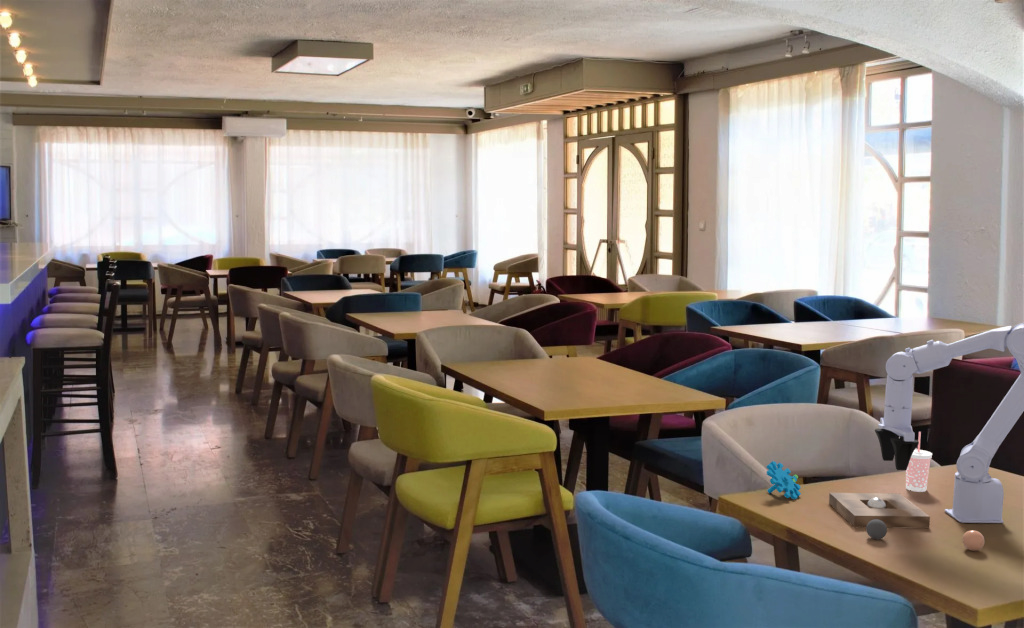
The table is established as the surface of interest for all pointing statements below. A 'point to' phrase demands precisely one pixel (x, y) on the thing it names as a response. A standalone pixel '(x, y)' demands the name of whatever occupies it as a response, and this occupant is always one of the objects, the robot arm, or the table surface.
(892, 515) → the wooden square frame
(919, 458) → the beverage cup
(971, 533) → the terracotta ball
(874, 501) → the steel ball
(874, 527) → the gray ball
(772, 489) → the blue branched piece
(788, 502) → the table surface
